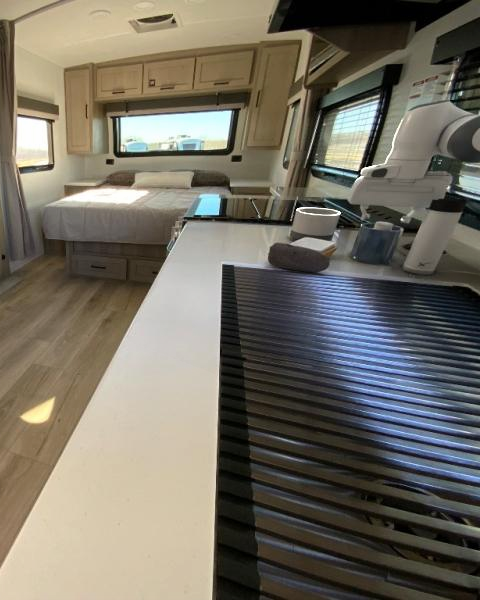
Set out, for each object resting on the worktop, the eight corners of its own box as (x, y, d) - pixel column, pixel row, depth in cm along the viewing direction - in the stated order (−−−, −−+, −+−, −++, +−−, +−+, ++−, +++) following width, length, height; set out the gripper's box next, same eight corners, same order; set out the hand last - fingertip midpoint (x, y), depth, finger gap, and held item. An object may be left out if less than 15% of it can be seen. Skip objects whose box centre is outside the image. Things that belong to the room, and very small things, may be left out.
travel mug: (423, 277, 88) (460, 200, 79) (396, 268, 94) (427, 195, 85) (439, 274, 90) (477, 198, 81) (412, 266, 95) (444, 194, 86)
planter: (280, 238, 123) (288, 209, 118) (304, 234, 127) (312, 206, 122) (314, 247, 112) (323, 216, 107) (339, 242, 116) (349, 212, 112)
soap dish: (300, 250, 110) (305, 235, 107) (334, 258, 103) (340, 242, 100) (282, 258, 103) (286, 243, 101) (317, 267, 96) (322, 250, 94)
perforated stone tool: (327, 272, 93) (335, 248, 90) (325, 278, 89) (333, 253, 86) (268, 261, 101) (273, 239, 98) (264, 267, 97) (269, 244, 94)
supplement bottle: (357, 252, 104) (370, 220, 99) (379, 255, 102) (394, 222, 97) (361, 257, 100) (375, 223, 95) (384, 260, 97) (399, 226, 93)
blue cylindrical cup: (384, 256, 103) (397, 224, 98) (394, 266, 95) (409, 232, 91) (346, 252, 107) (357, 221, 102) (353, 262, 99) (365, 229, 95)
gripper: (449, 170, 88) (426, 222, 94) (355, 169, 96) (339, 216, 102) (461, 172, 83) (436, 227, 89) (360, 171, 91) (344, 221, 97)
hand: (384, 221), depth 96 cm, fingers open, 8 cm apart
